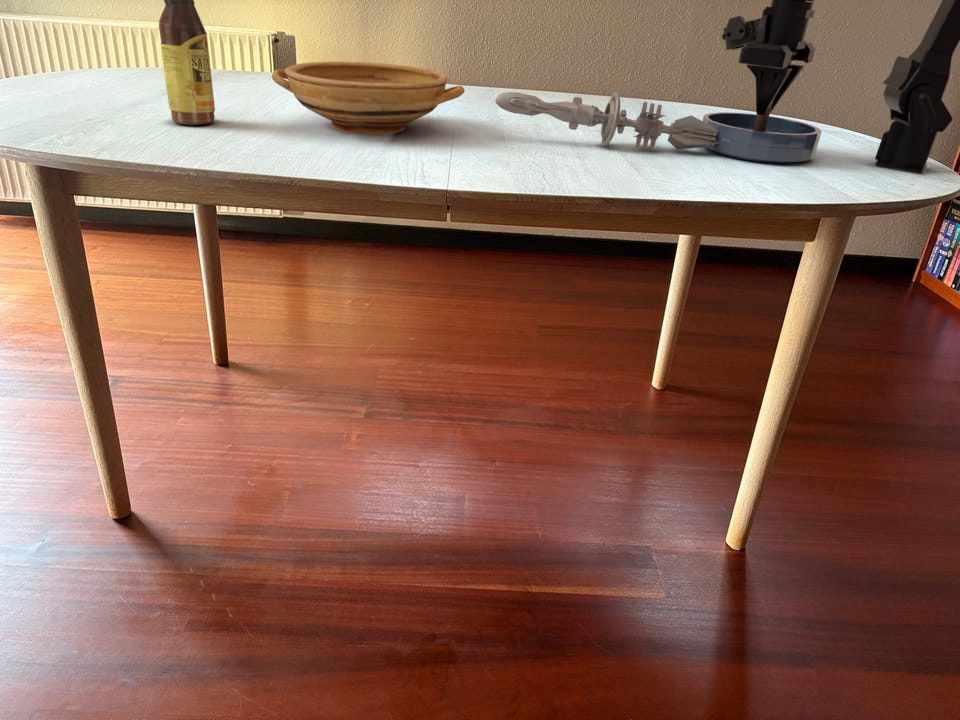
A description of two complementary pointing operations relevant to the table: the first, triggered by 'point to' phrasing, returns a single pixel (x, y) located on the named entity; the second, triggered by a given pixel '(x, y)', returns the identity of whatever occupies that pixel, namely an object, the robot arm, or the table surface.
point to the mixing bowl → (763, 138)
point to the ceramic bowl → (366, 93)
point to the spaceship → (615, 120)
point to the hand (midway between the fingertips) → (763, 113)
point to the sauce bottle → (186, 64)
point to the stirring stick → (762, 120)
